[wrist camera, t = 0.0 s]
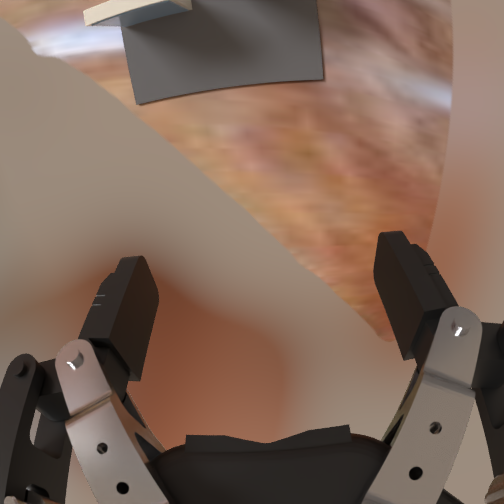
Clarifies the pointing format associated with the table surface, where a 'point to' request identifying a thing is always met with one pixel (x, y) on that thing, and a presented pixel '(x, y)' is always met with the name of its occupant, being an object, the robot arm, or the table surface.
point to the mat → (223, 47)
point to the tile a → (132, 11)
